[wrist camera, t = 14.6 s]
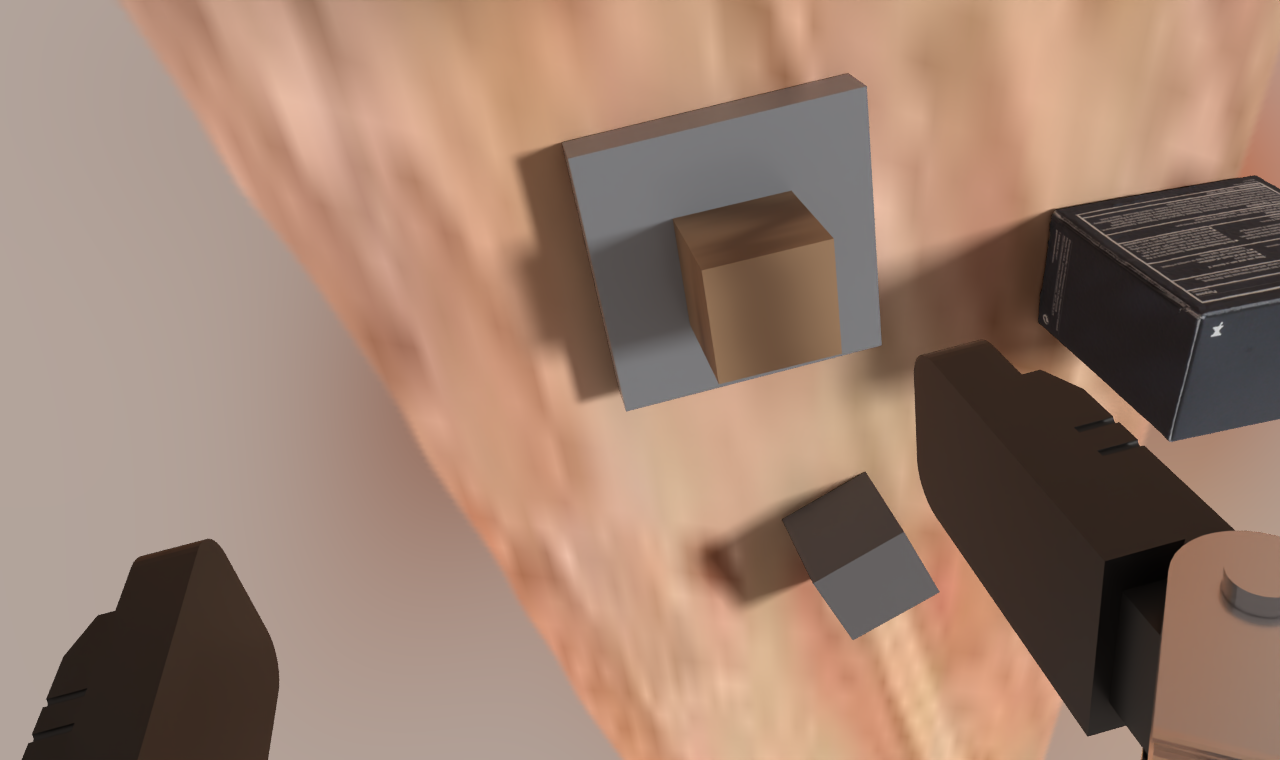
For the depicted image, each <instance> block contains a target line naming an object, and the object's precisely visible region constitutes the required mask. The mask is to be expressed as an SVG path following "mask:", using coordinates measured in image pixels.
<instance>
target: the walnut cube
mask: <svg viewBox="0 0 1280 760" xmlns="http://www.w3.org/2000/svg"><path fill="white" fill-rule="evenodd" d="M673 224H674V230H675V236H676V242H677V249H678V255H679V261H680V267H681V273H682V279H683V285H684V291H685V297H686V303H687V309H688V315H689V321H690V326H691V328H692V330H693V332H694V334H695V336H696V338H697V340H698V342H699V344H700V346H701V348H702V350H703V352H704V355H705V357H706V359H707V361H708V363H709V365H710V367H711V369H712V371H713V373H714V375H715V377H716V379H717V381H718V383H719V384H722V383H726V382H731V381H735V380H739V379H743V378H747V377H751V376H755V375H759V374H763V373H767V372H771V371H775V370H779V369H783V368H787V367H791V366H795V365H799V364H803V363H807V362H811V361H815V360H819V359H823V358H827V357H831V356H835V355H839V354H842V347H841V333H840V319H839V305H838V291H837V276H836V262H835V248H834V238H833V237H832V236H831V235H830V234H829V233H828V231H827V230H826V229H825V228H824V227H823V226H822V225H821V224H820V222H819V221H818V220H817V219H816V218H815V217H814V216H813V214H812V213H811V212H810V211H809V210H808V209H807V208H806V207H805V205H804V204H803V203H802V202H801V201H800V200H799V199H798V197H797V196H796V195H795V194H794V193H793V192H792V191H787V192H783V193H779V194H775V195H770V196H766V197H762V198H758V199H753V200H749V201H745V202H741V203H737V204H732V205H728V206H724V207H720V208H715V209H711V210H707V211H703V212H699V213H694V214H690V215H686V216H682V217H677V218H673Z"/></svg>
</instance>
